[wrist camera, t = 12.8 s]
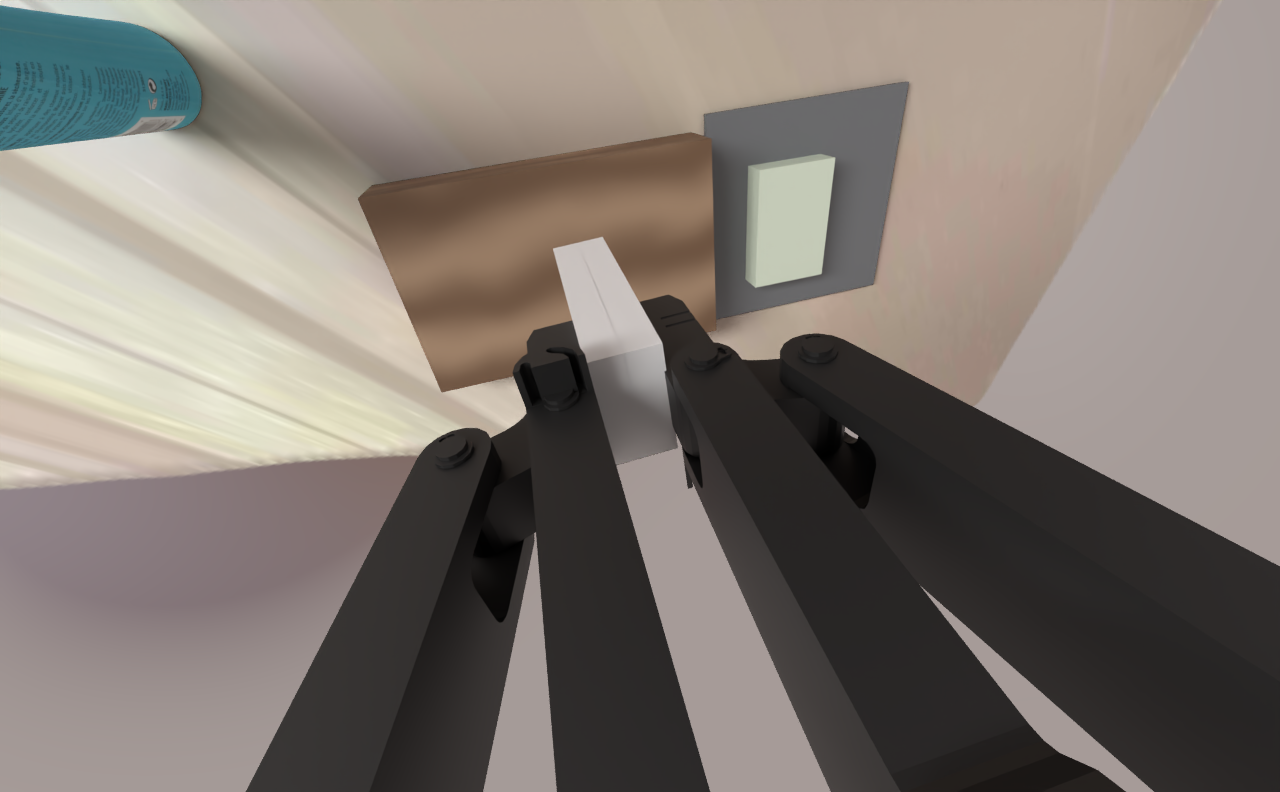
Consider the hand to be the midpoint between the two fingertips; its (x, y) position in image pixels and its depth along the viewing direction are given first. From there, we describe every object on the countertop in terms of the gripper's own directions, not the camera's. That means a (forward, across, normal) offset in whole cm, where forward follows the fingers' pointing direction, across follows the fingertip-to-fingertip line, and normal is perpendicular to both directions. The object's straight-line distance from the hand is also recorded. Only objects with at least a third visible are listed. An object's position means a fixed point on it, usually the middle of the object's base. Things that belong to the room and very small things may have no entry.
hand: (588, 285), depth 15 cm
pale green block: (+21, +18, -8) cm, 28 cm away
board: (+23, 0, -7) cm, 24 cm away
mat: (+23, +20, -8) cm, 31 cm away
